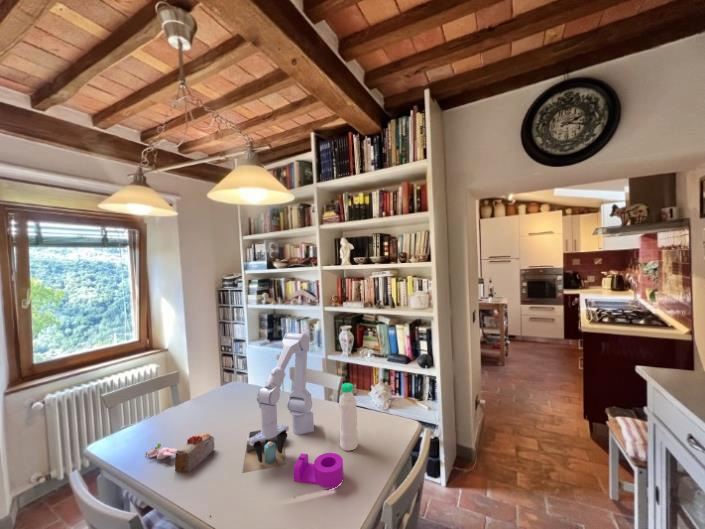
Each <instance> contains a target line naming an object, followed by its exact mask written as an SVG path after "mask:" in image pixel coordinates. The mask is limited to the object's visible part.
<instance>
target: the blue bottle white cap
mask: <svg viewBox="0 0 705 529" xmlns="http://www.w3.org/2000/svg"><path fill="white" fill-rule="evenodd" d="M264 450H265V463H267V464H271V463H273V462H275V461H276V445H275V443H273V442H271V441H270V442H268V443H267V444H266V445H265V446H264Z"/></svg>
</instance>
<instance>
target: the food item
mask: <svg viewBox="0 0 705 529" xmlns="http://www.w3.org/2000/svg"><path fill="white" fill-rule="evenodd" d="M215 447H216V446H215V437H214V436H213V435H211V434H210V433H208V432H203V431H202V432H199V433H197V434H196V435H193V436H191V437H189V438H188V439H187V441H186V444H184V445H182V446H181V447H180V448H179V449H177V451H176V453H175V456H174V457H175V460H174V469H175V470H174V471H175V472H180V473H190V472H191V471H193V469H195V468H196V467H197V466H198V465H199V464H200V463H202V462H203V461H204V460H206V458H208V457H209V455H210V454H211V453H212V452H214V449H215Z"/></svg>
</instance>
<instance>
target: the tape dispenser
mask: <svg viewBox="0 0 705 529" xmlns="http://www.w3.org/2000/svg"><path fill="white" fill-rule="evenodd" d="M292 474H293V482H296V483H297V482H299V483H306V484H314V485H318V486H320V487H323V488H325V489H324V490H329V489H332V488H335V487H337V486H338V485H339V484H340V483H341V482H342V480H343V481H344V460H343V457H342V456H341V455H340V454H338V453H335V452H325V453H322V454H320V455H318V456H317V457H316V458H315V459H314V461H313V463H311V462H309V455H308V453H300V454H299V456H298V459H297V460H296V461H295V463H294V466H293V473H292Z"/></svg>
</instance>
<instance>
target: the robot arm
mask: <svg viewBox="0 0 705 529" xmlns="http://www.w3.org/2000/svg"><path fill="white" fill-rule="evenodd" d="M281 342H282V343H281V344H282V350H281V352H280V354H279V358H278V360H277V363H276V365H275V367H274V368H272V369H271V371H270V374H269V375H268V378H267V380H266V382H265V384H264V386H263V387H262V388H260V389H259V391H258V393H257V397H256V401H257V403H258V407H259V409H260V424H261V429H260V430H261V432H260V433H258V434H257V435H255V436H253V437H251V438H249V444H250V445H251V446H254V448H255V450H256V453H257V456H258V460H259V462H260V463H261V462H262V448H263V446H262V445H261V442H260V441H262V440H265V439H270V438H273V437H275V436H276V435H277V441H278V452H279V453H280V454H281V453H282V449H283V445H284V442H285V443H286V440H287V438H288V433H287V432H289V428H290V427H289V425H288V424H287V423H285V424H280V425H278V410H277V408H278V407H277V404H278V401H279V400H280V397H281V387H282V383H283V382H284V379H285V377H286V371H285V370H286V368H287V366H288V364H289V363H290V360H291V358H292V356H293V355H294V354H295V355H294V357H295V358H294V362H295V363H294V376H293V390H291V392H289V394H288V399H287V403H286V407H287V410H288V411H289V414H291V431H292V434H294V435H297V436H298V435H299V436H300V435H301V436H302V435H305V434H307V433H312V432H315V425H314V424H315V422H314V411H313V410H312V408H313V400H312V394H311V393H310V391H309V390H307V387H306V386H307V365H308V362H307V361H308V352H310V337H309V335H308V334H307V333H295V332H286V333H285V334H284V336H283V338H282V341H281Z"/></svg>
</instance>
